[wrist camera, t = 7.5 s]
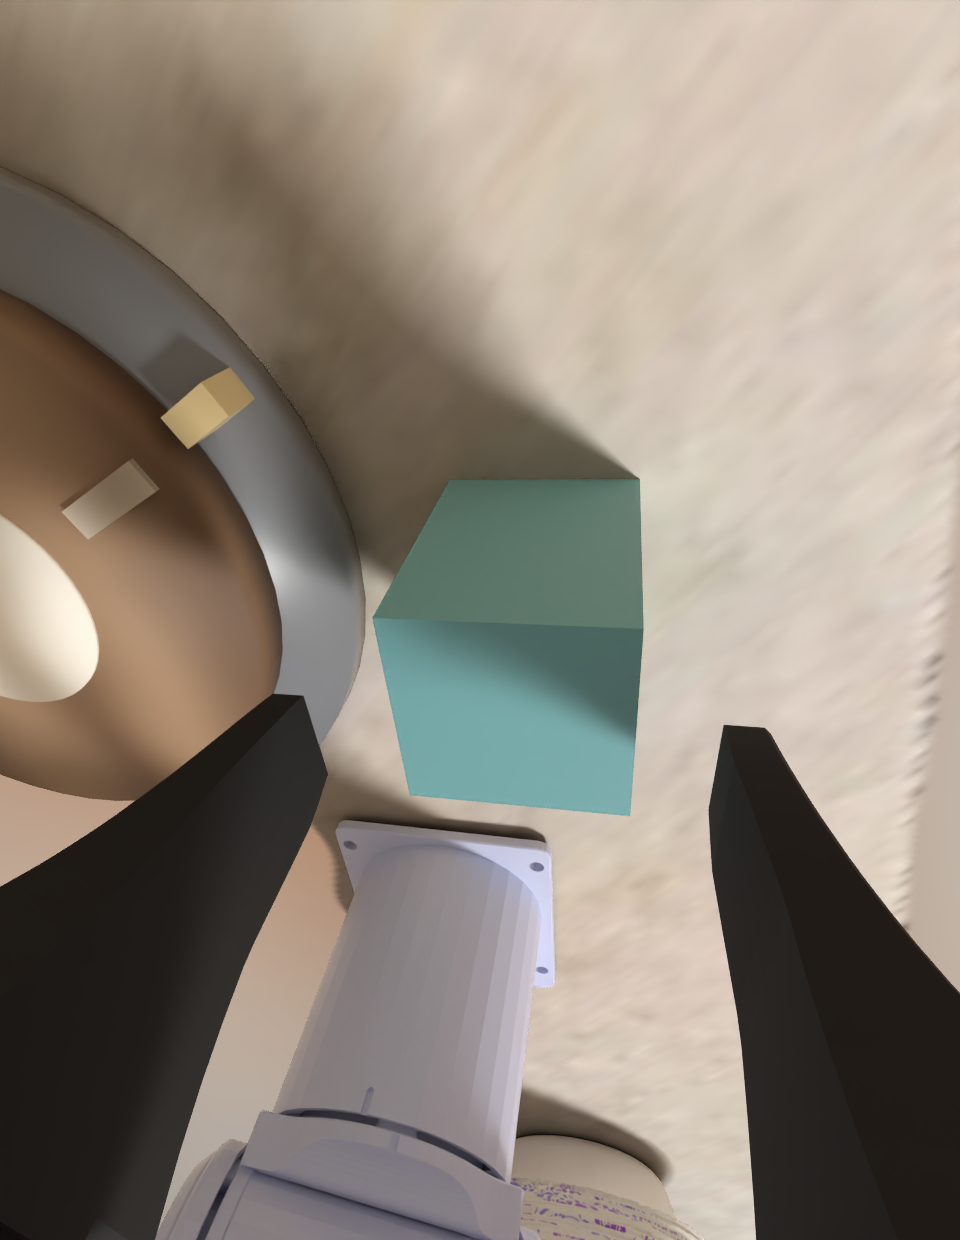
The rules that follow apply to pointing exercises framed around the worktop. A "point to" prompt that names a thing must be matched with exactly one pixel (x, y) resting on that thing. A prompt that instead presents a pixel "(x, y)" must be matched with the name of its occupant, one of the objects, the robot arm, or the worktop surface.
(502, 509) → the link block
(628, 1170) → the paper bowls
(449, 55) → the worktop surface
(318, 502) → the turntable base
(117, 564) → the turntable
